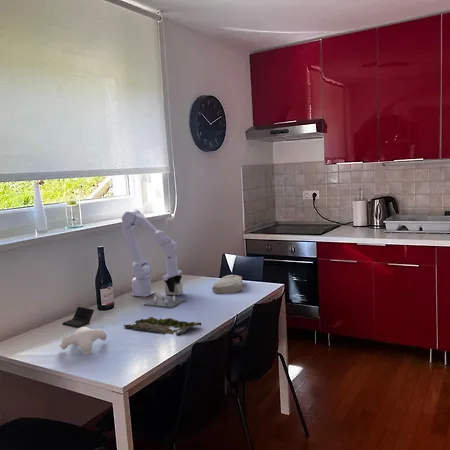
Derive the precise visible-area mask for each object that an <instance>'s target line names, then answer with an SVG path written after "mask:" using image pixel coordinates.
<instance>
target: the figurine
mask: <svg viewBox="0 0 450 450" xmlns="http://www.w3.org/2000/svg"><path fill="white" fill-rule="evenodd" d="M107 336H108V335H107V333H106V331H104V330H103V329H101V328H100V329H96V328H94V329H93V328H90V327H87V326H82V327H79V328H77V329H76V330H74V331H73V333H71V334H70V335H68V336H67V335H66V336H65V337H64V338H63V339H62V341H61V343H60V345H59V347H60V348H61V349H62V350H66V349H68V347H69V346H71V345H73V346H79V348H80V350H81V352H82V354H84V355H85V356H87V355H90V354H91V351H92V346H93V343H94V342H96V341H97V340H98V339H100V340H101V341H106V339H107Z"/></svg>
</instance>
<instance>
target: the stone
mask: <svg viewBox="0 0 450 450" xmlns="http://www.w3.org/2000/svg"><path fill="white" fill-rule="evenodd" d="M243 287H244V286H243V277H242V276H240V275H236V274H230V275H229V274H228V275H227V274H226V275H225V276H222V277H221V278H220V279H219V280H217V281H216V282H214V283H213V286H212V289H211V290H212V293H214V294H218V295H221V293H225V294H236V293H239V292H242V291H243V289H244V288H243Z"/></svg>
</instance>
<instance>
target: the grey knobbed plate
mask: <svg viewBox="0 0 450 450" xmlns="http://www.w3.org/2000/svg"><path fill="white" fill-rule="evenodd" d="M186 300H187V299H185V298H176V295H172V297H165V294H162V295H161V296H158V297H157V296H156V295H155V296H154V297H153V299H151V300H149V301H147V302H144V303H143V306H145V307H147V306H148V307H154V308H155V307H156V308H164V309H173V308H175V307H177V306H179V305H181V304H182V303H185V302H187V301H186ZM184 301H185V302H184Z"/></svg>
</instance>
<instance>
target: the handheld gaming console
mask: <svg viewBox="0 0 450 450" xmlns="http://www.w3.org/2000/svg"><path fill="white" fill-rule="evenodd" d="M75 310H76V311H75V312H74V315H73V317H72V319H68V320H65V321H63V322H62V325H64V326H68V327H72V328H77V329H78V328H81V327H85V326H87V325H89V324H90V322H91V319H92V316H93V314H94V312H95V309H91V308H86V307H82V306H78V307H77V309H75Z"/></svg>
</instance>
